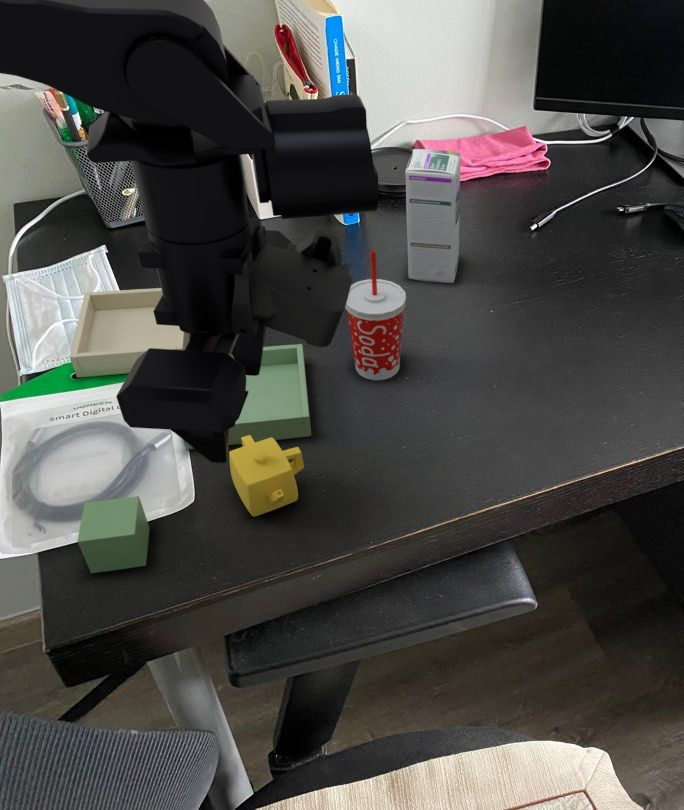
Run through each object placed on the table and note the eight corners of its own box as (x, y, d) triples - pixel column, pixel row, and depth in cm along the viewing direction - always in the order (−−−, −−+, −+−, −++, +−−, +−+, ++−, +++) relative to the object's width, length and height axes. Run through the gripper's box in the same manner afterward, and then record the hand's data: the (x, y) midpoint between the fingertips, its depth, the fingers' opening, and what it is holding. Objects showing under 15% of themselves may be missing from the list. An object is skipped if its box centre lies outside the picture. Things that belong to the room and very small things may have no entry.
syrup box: (454, 284, 100) (458, 173, 90) (406, 279, 99) (405, 168, 90) (459, 259, 104) (463, 151, 94) (412, 255, 104) (412, 146, 94)
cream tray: (76, 377, 81) (69, 357, 79) (91, 312, 89) (84, 292, 87) (187, 368, 83) (182, 348, 82) (191, 305, 91) (187, 286, 90)
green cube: (90, 574, 64) (76, 541, 62) (97, 534, 67) (83, 502, 64) (146, 566, 65) (134, 534, 63) (149, 527, 68) (139, 495, 65)
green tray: (185, 450, 75) (180, 429, 73) (190, 373, 83) (185, 352, 81) (311, 436, 78) (309, 416, 76) (304, 363, 86) (302, 343, 84)
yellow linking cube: (323, 512, 71) (319, 471, 68) (258, 538, 68) (250, 496, 65) (288, 455, 76) (282, 413, 72) (226, 477, 73) (216, 435, 70)
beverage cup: (336, 372, 85) (326, 256, 76) (369, 342, 90) (363, 228, 80) (387, 392, 84) (383, 276, 74) (417, 360, 88) (417, 247, 79)
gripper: (307, 322, 42) (328, 520, 52) (359, 161, 56) (368, 343, 66) (81, 307, 41) (148, 512, 51) (191, 147, 55) (226, 334, 65)
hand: (236, 415), depth 58 cm, fingers open, 9 cm apart
